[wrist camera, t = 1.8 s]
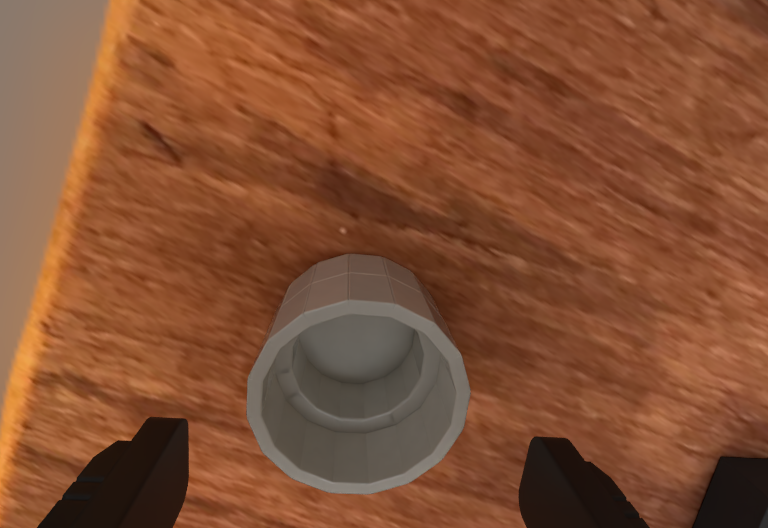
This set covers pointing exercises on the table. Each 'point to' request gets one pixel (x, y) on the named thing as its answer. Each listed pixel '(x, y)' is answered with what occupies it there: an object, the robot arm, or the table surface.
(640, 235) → the table surface
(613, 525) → the robot arm
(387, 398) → the white cup
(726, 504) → the scale
